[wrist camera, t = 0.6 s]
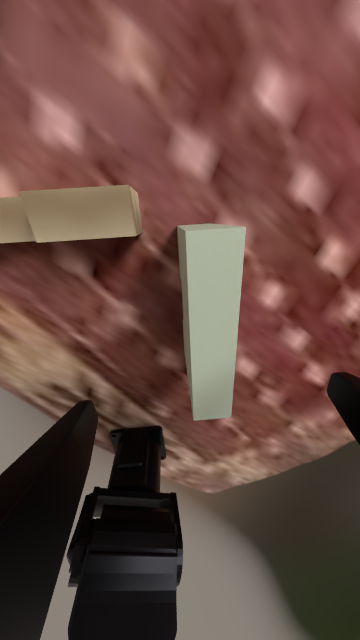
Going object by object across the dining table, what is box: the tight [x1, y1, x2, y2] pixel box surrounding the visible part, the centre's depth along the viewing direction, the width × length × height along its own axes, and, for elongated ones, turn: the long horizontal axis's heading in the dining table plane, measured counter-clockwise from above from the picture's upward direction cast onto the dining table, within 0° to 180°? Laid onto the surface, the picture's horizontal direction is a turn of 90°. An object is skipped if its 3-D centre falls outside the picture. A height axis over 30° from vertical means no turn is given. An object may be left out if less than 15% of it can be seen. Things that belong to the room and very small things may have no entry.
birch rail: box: [0, 185, 143, 243], centre depth 13 cm, size 3×16×4 cm, turn 93°
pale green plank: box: [177, 224, 246, 421], centre depth 15 cm, size 12×3×8 cm, turn 3°
